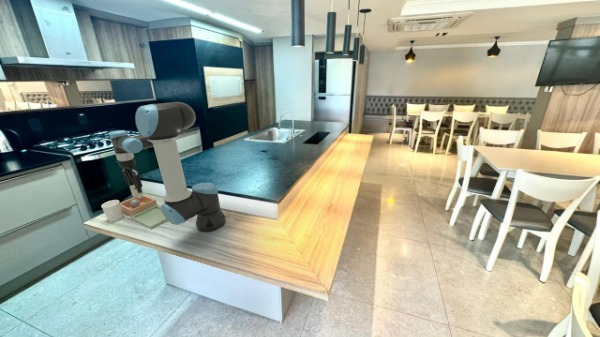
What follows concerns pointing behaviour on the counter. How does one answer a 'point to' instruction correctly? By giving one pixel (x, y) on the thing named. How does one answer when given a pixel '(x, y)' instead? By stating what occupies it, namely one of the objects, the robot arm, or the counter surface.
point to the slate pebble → (135, 203)
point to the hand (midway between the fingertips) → (138, 196)
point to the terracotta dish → (144, 204)
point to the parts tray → (150, 217)
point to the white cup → (112, 210)
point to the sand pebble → (134, 194)
